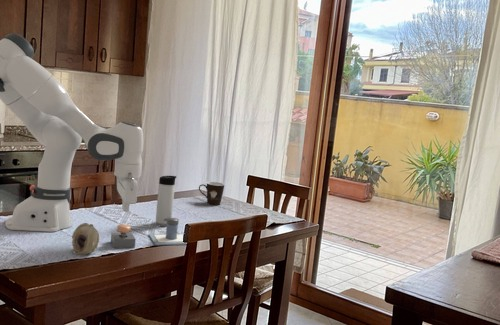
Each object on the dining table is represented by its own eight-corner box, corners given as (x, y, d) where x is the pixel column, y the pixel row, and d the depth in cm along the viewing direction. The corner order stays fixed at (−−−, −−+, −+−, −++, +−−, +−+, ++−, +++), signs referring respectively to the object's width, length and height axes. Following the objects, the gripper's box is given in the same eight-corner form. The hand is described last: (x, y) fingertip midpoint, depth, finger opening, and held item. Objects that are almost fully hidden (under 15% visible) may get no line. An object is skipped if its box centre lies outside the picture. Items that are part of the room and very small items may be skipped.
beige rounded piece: (72, 256, 170) (68, 225, 170) (99, 251, 173) (95, 221, 174) (74, 257, 161) (70, 225, 162) (102, 251, 164) (98, 220, 165)
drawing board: (155, 245, 182) (155, 243, 182) (148, 235, 192) (149, 233, 192) (193, 244, 188) (194, 242, 187) (185, 235, 197) (185, 233, 197)
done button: (117, 241, 176) (118, 228, 175) (115, 237, 180) (116, 224, 179) (130, 241, 178) (131, 228, 177) (128, 237, 182) (129, 224, 181)
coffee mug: (225, 204, 255) (228, 184, 253) (215, 206, 247) (217, 186, 246) (206, 199, 261) (208, 179, 259) (196, 201, 253) (198, 181, 252)
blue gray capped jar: (166, 239, 187) (168, 220, 186) (164, 236, 191) (165, 217, 190) (178, 239, 189) (179, 220, 188) (175, 236, 192) (177, 217, 191)
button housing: (113, 248, 174) (114, 239, 174) (110, 241, 181) (111, 233, 180) (134, 247, 177) (135, 239, 177) (131, 241, 184) (131, 232, 183)
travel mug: (168, 227, 205) (173, 177, 202) (152, 224, 206) (157, 175, 203) (174, 223, 211) (178, 175, 208) (158, 221, 212) (163, 173, 209)
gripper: (143, 177, 167) (140, 219, 169) (132, 165, 185) (130, 203, 187) (123, 176, 164) (120, 219, 166) (114, 164, 183) (112, 203, 185)
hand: (125, 210), depth 177 cm, fingers closed
